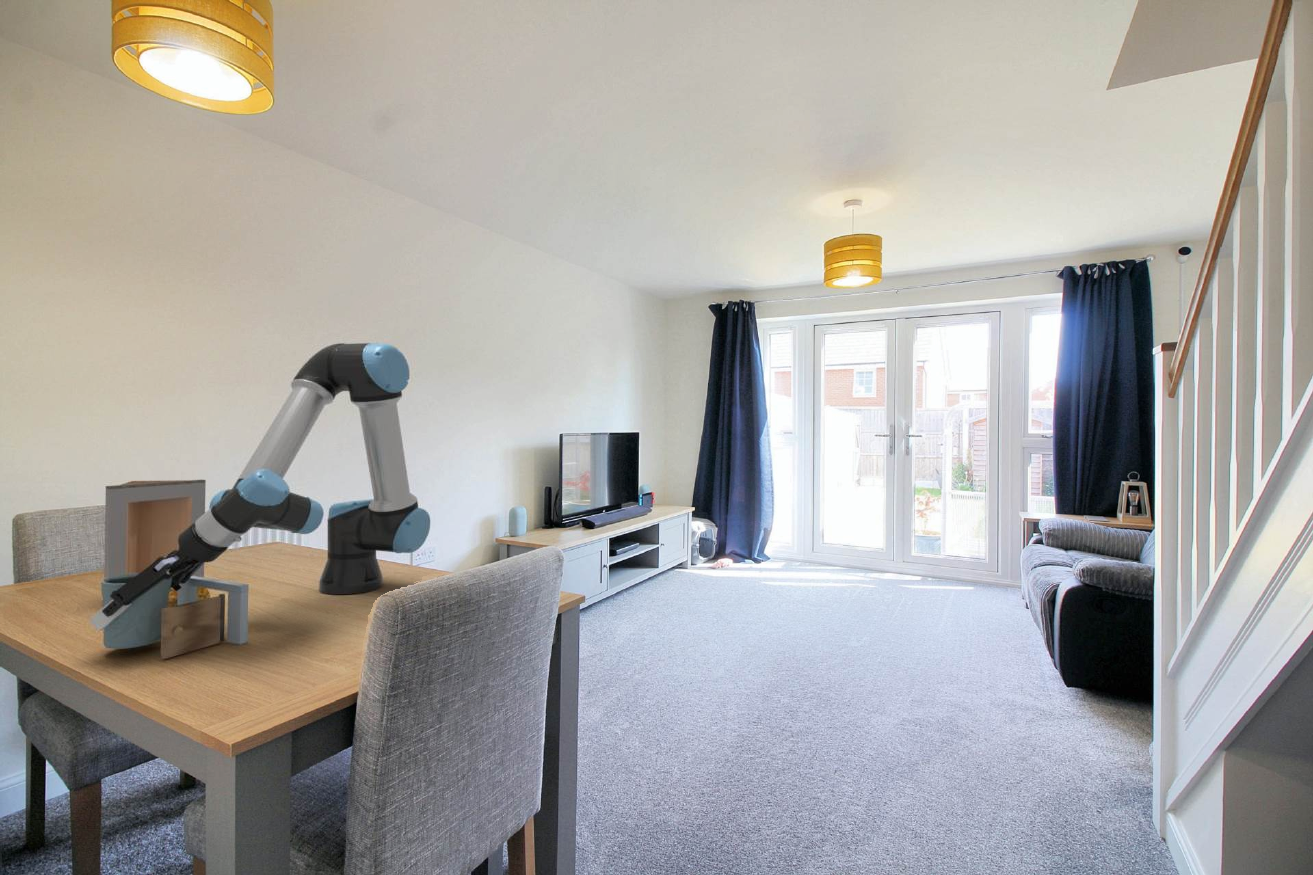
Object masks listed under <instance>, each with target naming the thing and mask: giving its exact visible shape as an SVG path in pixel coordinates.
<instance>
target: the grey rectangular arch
mask: <svg viewBox="0 0 1313 875" xmlns="http://www.w3.org/2000/svg"><path fill="white" fill-rule="evenodd" d="M179 585H180V586H181V587H182V588H181V589H179V590H178V598H177V605H181V604H186V603H190V602H195V601H197V587H202V588H207V589H208V590H209V589H210V590H215V591H222V592H227V630H226V631H227V633H226V634H227V635H226V636H227V637H226V639H227V641H226V642H227V643H230V644H237V645H242V644H245V643H248V635H249V634H248V625H249V623H248V621H249V620H248V619H249V616H248V615H249V584H248V583H241V582H235V581H230V580H222V579H218V578H217V579H215V578H210V577H209V578H208V577H205V576H204V577H198V576H191V577H190V578H189V579H188V580H187V581H186V583H183V584H181V583H180V584H179Z"/></svg>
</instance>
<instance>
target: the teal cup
mask: <svg viewBox="0 0 1313 875" xmlns="http://www.w3.org/2000/svg"><path fill="white" fill-rule="evenodd" d="M138 574H139V573H132V574H124V575H118V576H113V577H109V578H105V579H101V581H100V585H101V598H102V599H101V602H102V606H101V607H102V608H103V607H104V606H105V605H106V604H107V603H109V602H110V601H111V600H112V598H111V597H110V595H111V594H112V592H113V591H117V590H118V589H119V588H121V587H122V586H123V585H125V584H126V583H127V582H129V581H130V580H131V579H133V578H134V577H135V576H137V575H138ZM167 574H170V573H167ZM171 582H172V578H171V579H169V580H166V579H165V580H163V581H162V582H160V583H159V584H157V585H156V586H154V587H153V588H151V589H150V590H149V591H147V592H146V593H144V594H143V595H141V596H140V597H138V598H137V599H136V600H134V601H133V602H131V603H130V604H131V606H129V607H128V608H127V609H126V610H125V611H124V612H122V613H121V614H120V615H119V616H118V617H117V618H116V619H114V620H113V621H112V622H111V623H110V624H109V625H108V626H106V627H105V628H104V629H103V630H102V631H103V632H102V633H103V641H102V642H103V647H105V648H106V649H112V650H113V649H115V650H117V649H118V650H119V649H120V650H121V649H132V648H139V647H142V646H143V647H144V646H148V645H151V644H155V643H158V642H159V641H161V611H162V609H164V608H167V606H168V600H169V597H168V596H169V592H170V587H171Z"/></svg>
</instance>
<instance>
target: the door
mask: <svg viewBox="0 0 1313 875" xmlns="http://www.w3.org/2000/svg"><path fill="white" fill-rule="evenodd" d="M225 610H226V594H225V593H220V594H218V595H217V596H213V597H210V598H208V599H203V600H199V601H195V602H190V603H186V604H181V605H177V606H173V607H168V608H164V609H162V611H161V640H160V659H162V660H165V659H169V658H172V657H175V656H180V655H182V654H186V653H189V652H193V651H197V650H199V649H202V648H206V647H210V646H214V645H217V644H221V642H224V641H225V630H226V629H225V627H226V626H225V622H226V621H225V620H226V611H225Z"/></svg>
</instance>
